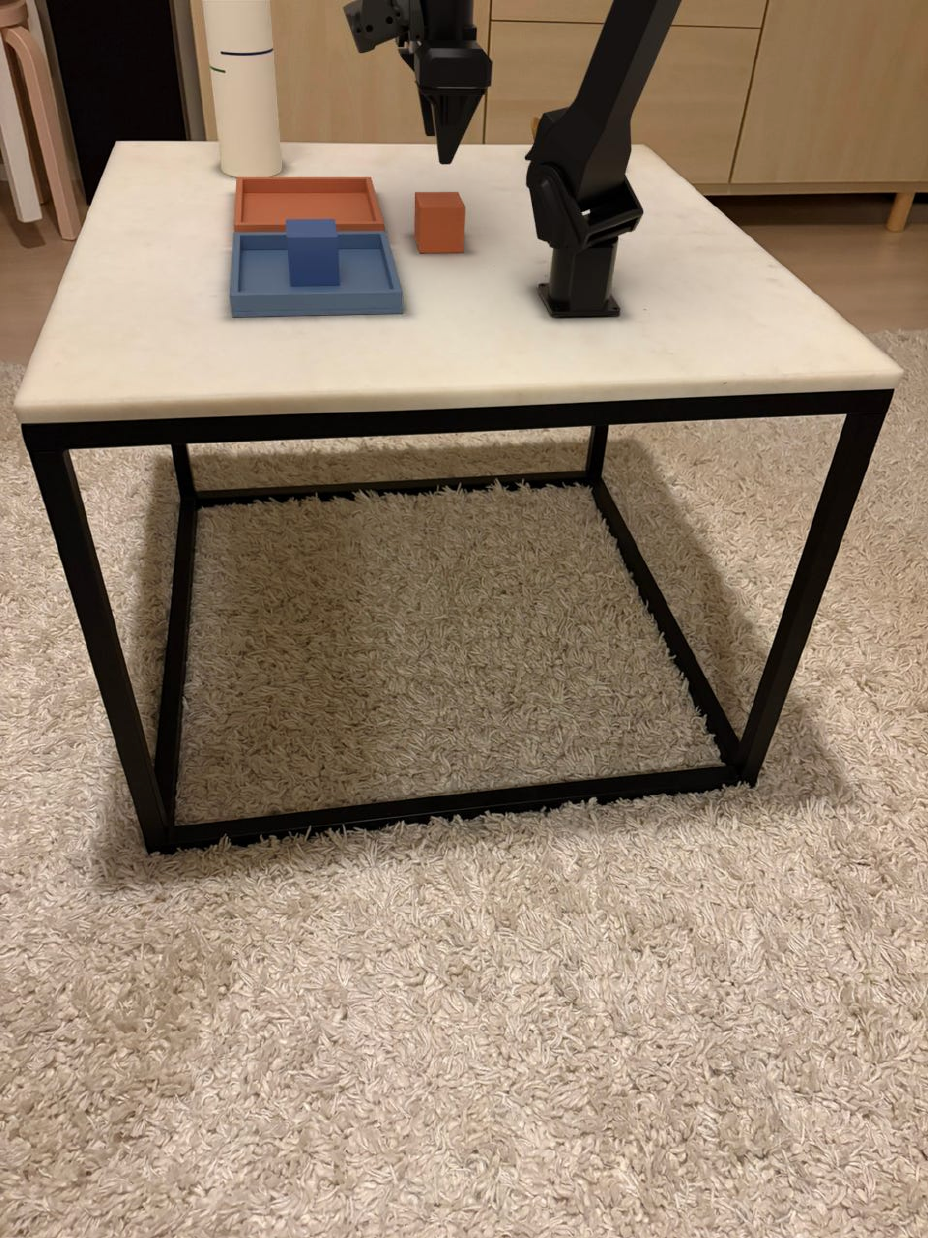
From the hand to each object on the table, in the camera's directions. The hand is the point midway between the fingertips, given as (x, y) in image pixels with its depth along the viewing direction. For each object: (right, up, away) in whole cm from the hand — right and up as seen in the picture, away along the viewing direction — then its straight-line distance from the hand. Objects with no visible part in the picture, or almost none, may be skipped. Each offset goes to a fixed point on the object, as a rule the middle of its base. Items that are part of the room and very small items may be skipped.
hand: (437, 149), depth 90 cm
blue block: (-12, -13, -2) cm, 18 cm away
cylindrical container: (-23, +8, +22) cm, 33 cm away
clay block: (0, -7, +6) cm, 9 cm away
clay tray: (-14, -2, +10) cm, 18 cm away
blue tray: (-12, -14, -2) cm, 18 cm away
